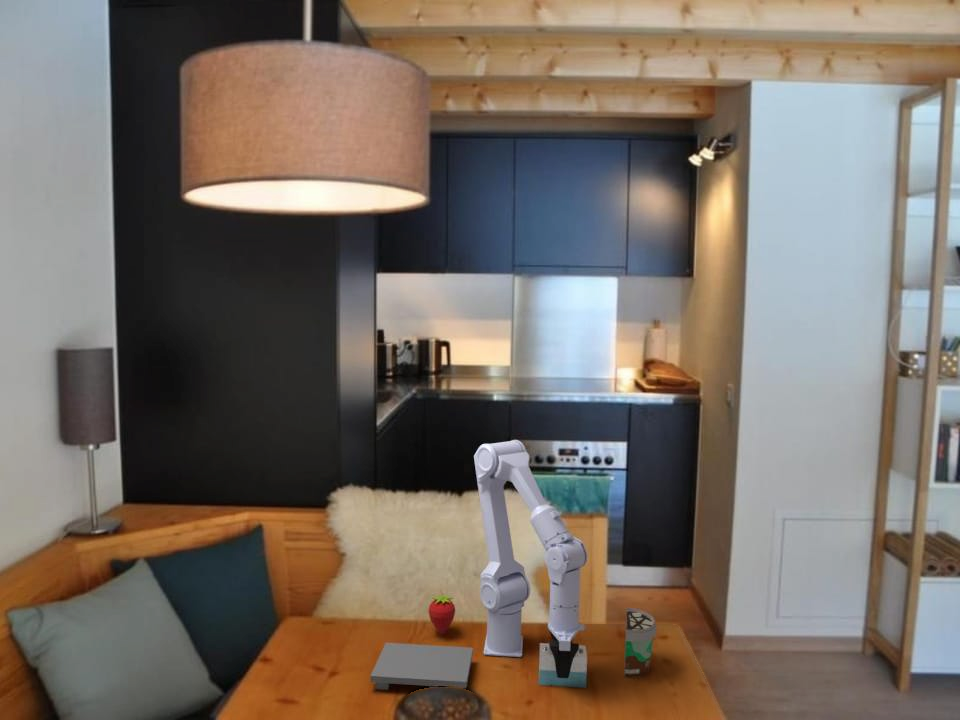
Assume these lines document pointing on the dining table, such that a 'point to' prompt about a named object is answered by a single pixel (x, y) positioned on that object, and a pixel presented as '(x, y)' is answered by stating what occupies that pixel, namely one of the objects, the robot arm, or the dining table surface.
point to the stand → (422, 665)
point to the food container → (638, 642)
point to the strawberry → (441, 613)
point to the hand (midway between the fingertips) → (562, 670)
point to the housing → (549, 670)
